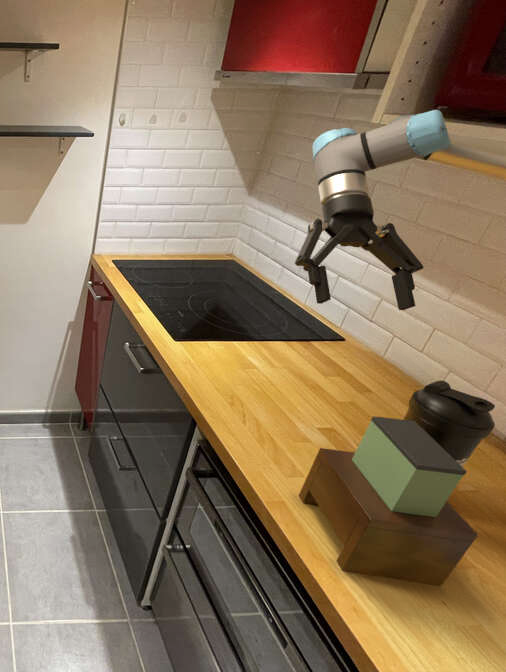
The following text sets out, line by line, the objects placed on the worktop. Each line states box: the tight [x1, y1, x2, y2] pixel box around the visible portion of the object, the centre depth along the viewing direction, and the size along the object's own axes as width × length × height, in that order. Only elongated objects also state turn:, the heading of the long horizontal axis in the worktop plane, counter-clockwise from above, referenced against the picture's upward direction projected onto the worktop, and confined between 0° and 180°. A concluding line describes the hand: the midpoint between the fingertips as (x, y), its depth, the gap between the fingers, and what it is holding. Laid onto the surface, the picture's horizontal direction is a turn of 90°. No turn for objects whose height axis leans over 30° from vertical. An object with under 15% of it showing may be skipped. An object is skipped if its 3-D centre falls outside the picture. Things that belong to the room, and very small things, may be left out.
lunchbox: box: [352, 415, 467, 517], centre depth 69 cm, size 6×10×10 cm, turn 171°
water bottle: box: [402, 380, 496, 468], centre depth 80 cm, size 10×10×23 cm
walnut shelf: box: [298, 447, 479, 587], centre depth 74 cm, size 14×14×12 cm
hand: (365, 304), depth 80 cm, fingers open, 13 cm apart
